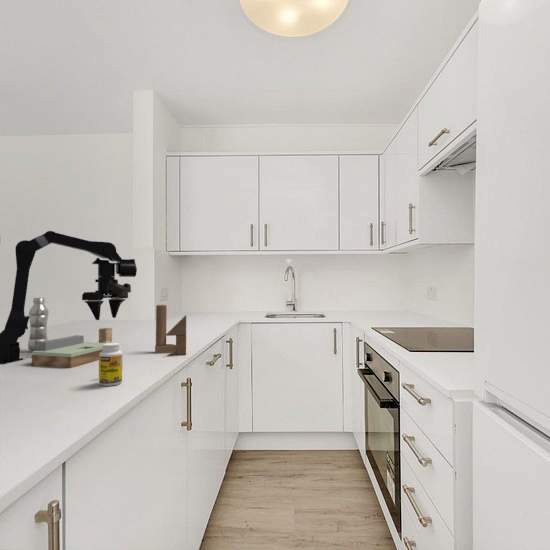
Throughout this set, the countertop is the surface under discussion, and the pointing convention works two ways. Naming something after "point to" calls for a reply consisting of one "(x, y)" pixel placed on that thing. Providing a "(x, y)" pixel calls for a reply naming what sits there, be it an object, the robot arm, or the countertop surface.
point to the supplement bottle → (110, 365)
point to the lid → (67, 347)
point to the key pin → (105, 335)
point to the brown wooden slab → (65, 360)
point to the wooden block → (169, 334)
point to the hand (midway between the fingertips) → (106, 318)
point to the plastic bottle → (37, 323)
